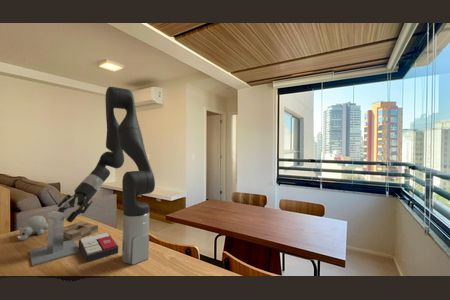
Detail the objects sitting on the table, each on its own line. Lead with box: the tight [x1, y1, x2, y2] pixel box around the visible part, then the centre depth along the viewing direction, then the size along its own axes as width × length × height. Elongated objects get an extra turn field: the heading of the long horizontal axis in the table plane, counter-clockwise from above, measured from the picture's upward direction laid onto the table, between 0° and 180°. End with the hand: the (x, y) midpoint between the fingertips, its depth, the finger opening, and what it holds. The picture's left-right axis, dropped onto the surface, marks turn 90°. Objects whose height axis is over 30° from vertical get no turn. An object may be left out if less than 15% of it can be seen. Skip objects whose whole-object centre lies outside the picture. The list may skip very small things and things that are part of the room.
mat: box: [28, 240, 82, 268], centre depth 82 cm, size 14×14×1 cm
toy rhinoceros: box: [17, 215, 48, 241], centre depth 94 cm, size 7×12×8 cm, turn 173°
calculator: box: [78, 232, 119, 264], centre depth 84 cm, size 11×4×15 cm
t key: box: [46, 210, 65, 253], centre depth 82 cm, size 6×4×15 cm, turn 67°
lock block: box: [63, 221, 99, 242], centre depth 98 cm, size 12×12×3 cm
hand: (61, 219), depth 83 cm, fingers open, 8 cm apart
